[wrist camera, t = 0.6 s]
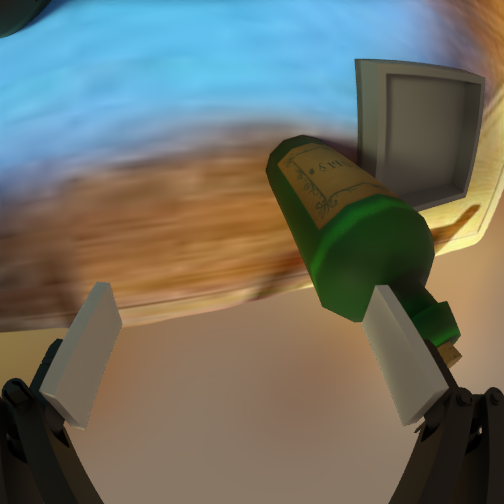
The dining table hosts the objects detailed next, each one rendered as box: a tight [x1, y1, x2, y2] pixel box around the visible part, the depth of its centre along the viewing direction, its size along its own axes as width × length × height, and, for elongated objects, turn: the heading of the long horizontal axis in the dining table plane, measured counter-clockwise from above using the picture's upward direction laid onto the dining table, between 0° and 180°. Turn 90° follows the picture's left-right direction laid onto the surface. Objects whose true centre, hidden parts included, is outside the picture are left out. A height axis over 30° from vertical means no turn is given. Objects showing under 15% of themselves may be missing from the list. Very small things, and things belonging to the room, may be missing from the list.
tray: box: [355, 59, 485, 212], centre depth 31 cm, size 22×22×4 cm
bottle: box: [266, 135, 462, 369], centre depth 23 cm, size 11×11×28 cm
